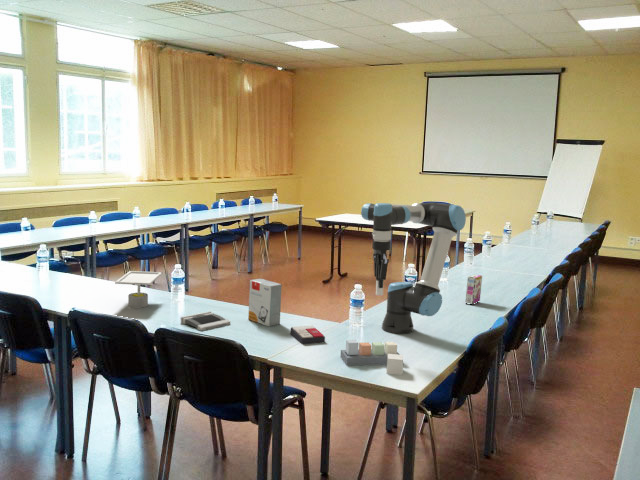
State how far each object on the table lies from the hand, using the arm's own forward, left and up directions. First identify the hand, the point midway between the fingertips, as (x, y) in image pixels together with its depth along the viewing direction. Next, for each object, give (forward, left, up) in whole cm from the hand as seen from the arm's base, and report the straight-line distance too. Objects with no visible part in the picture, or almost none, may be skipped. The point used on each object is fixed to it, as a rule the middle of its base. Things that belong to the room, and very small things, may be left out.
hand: (379, 294), depth 257 cm
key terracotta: (+9, +13, -22) cm, 28 cm away
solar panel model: (+104, -79, -24) cm, 133 cm away
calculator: (+27, -17, -25) cm, 40 cm away
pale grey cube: (+1, +26, -25) cm, 36 cm away
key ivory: (-2, +13, -22) cm, 26 cm away
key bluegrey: (+15, +13, -21) cm, 29 cm away
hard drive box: (+43, -45, -24) cm, 67 cm away
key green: (+4, +13, -22) cm, 26 cm away
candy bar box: (-84, -78, -24) cm, 117 cm away
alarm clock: (+71, -43, -25) cm, 86 cm away
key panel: (+6, +13, -24) cm, 28 cm away
